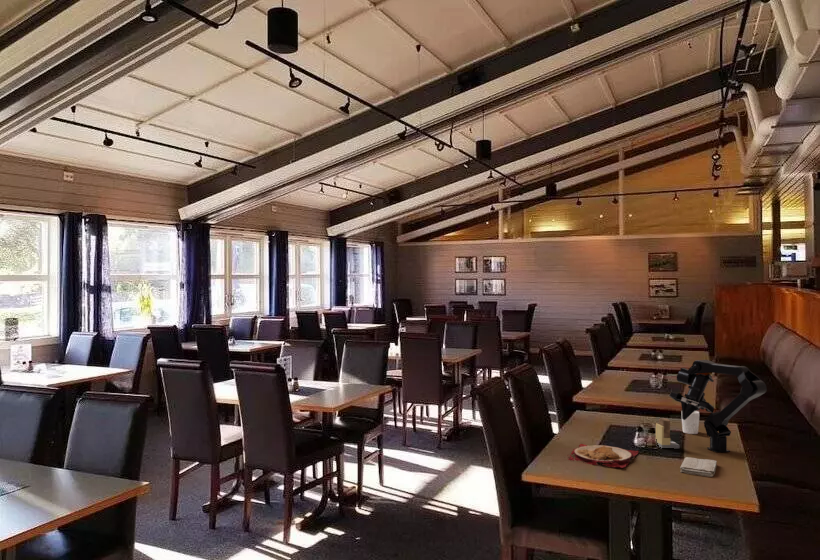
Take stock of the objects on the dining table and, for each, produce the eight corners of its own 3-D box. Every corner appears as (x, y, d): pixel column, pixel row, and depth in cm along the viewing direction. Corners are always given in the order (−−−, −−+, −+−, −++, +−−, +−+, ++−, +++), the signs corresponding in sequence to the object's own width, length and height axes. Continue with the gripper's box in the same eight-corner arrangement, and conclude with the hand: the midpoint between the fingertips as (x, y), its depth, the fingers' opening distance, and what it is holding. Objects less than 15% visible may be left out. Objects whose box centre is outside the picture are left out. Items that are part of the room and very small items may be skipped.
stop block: (665, 441, 274) (665, 418, 274) (669, 443, 270) (670, 420, 270) (658, 441, 274) (659, 418, 274) (663, 443, 270) (663, 420, 270)
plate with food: (638, 455, 261) (638, 447, 261) (623, 470, 239) (623, 461, 239) (580, 447, 274) (580, 439, 274) (561, 461, 252) (561, 452, 252)
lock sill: (672, 444, 276) (672, 423, 276) (679, 448, 269) (679, 426, 269) (655, 444, 275) (655, 423, 275) (661, 448, 269) (662, 426, 269)
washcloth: (679, 474, 236) (679, 465, 236) (684, 461, 252) (684, 454, 252) (714, 479, 230) (714, 470, 230) (716, 466, 246) (717, 458, 246)
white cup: (695, 430, 301) (696, 410, 301) (701, 434, 293) (702, 413, 293) (678, 430, 302) (679, 409, 302) (684, 434, 294) (684, 413, 294)
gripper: (726, 400, 270) (712, 433, 268) (688, 388, 286) (674, 419, 284) (714, 390, 264) (699, 423, 262) (675, 379, 280) (661, 410, 278)
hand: (683, 419), depth 272 cm, fingers closed
